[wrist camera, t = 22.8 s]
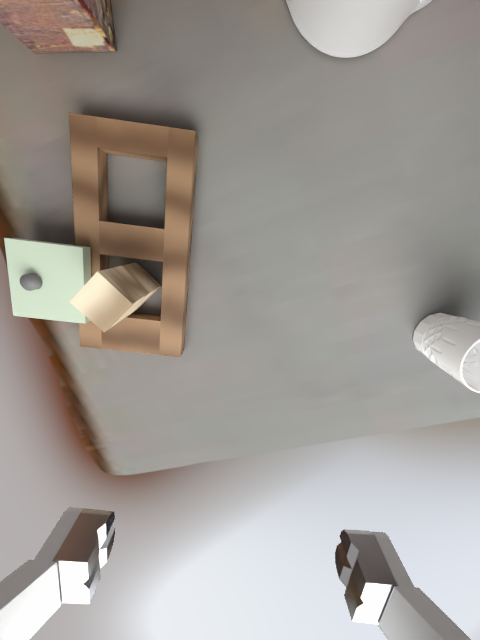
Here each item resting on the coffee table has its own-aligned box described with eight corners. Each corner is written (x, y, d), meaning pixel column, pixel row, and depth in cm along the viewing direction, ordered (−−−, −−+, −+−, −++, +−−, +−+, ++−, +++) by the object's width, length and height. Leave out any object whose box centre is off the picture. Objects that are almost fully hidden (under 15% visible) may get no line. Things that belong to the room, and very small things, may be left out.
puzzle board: (81, 121, 33) (69, 112, 30) (198, 138, 33) (195, 130, 31) (89, 340, 41) (79, 346, 38) (183, 350, 41) (180, 357, 39)
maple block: (115, 284, 38) (69, 301, 28) (136, 262, 38) (97, 271, 27) (139, 307, 39) (104, 332, 29) (161, 285, 38) (132, 303, 28)
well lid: (16, 237, 34) (-3, 237, 31) (90, 247, 34) (77, 247, 32) (23, 311, 36) (6, 317, 34) (92, 319, 37) (81, 326, 34)
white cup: (400, 353, 42) (449, 387, 32) (420, 303, 40) (478, 325, 30) (449, 362, 42) (511, 398, 33) (470, 313, 40) (544, 337, 30)
